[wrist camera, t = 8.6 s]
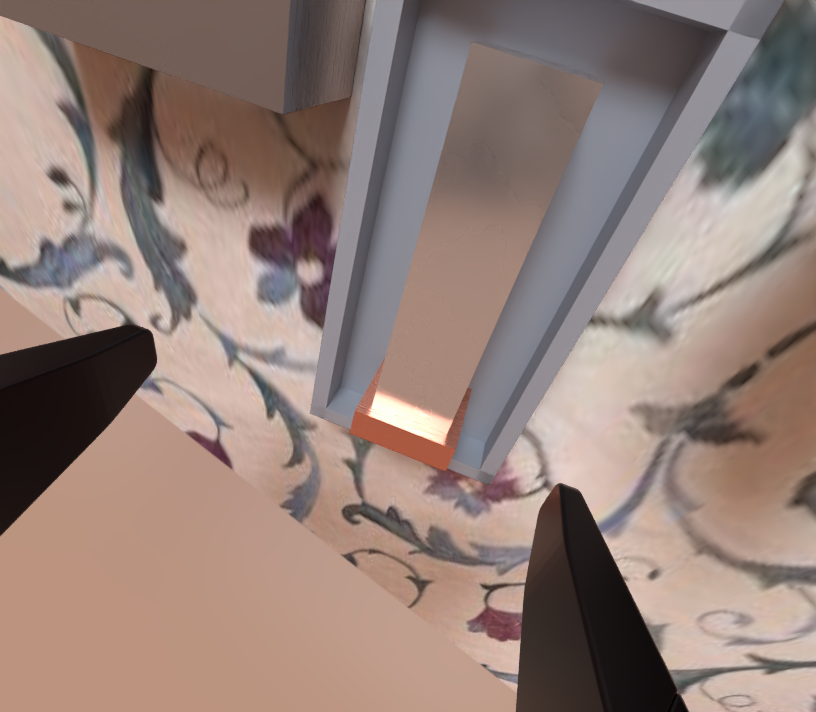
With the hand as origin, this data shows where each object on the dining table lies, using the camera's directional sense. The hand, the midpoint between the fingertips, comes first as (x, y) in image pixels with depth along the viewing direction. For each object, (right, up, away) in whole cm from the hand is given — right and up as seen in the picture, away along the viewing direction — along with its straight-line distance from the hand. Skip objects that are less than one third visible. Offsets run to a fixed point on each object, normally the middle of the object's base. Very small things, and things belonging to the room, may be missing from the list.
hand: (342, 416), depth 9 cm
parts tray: (+4, +5, +10) cm, 12 cm away
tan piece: (+4, +5, +9) cm, 11 cm away
